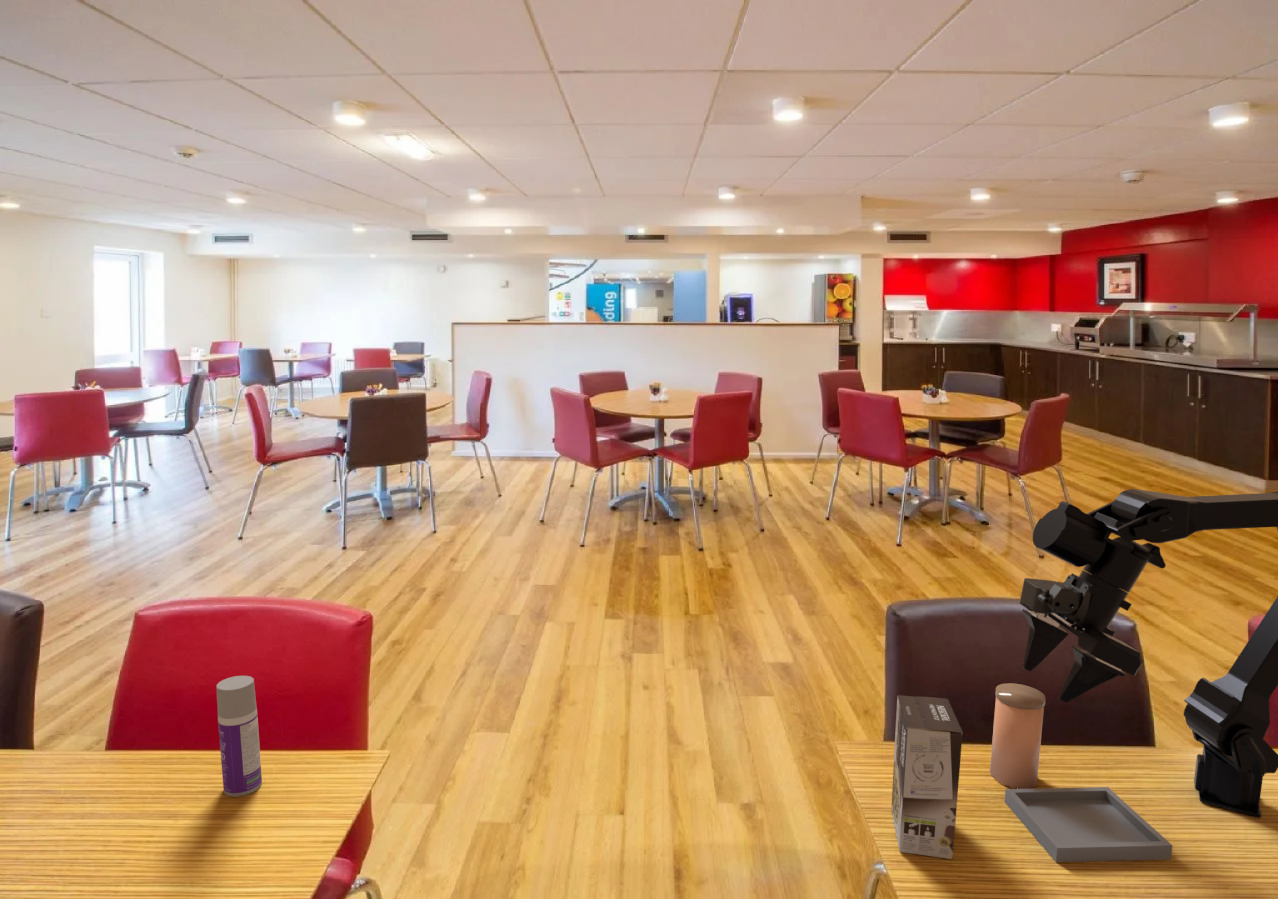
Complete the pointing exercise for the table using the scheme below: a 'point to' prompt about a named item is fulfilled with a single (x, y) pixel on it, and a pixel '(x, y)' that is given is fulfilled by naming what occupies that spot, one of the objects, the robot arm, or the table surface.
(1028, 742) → the brown and pink cylinder
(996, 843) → the table surface
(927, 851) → the coffee box
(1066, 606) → the robot arm
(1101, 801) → the tray
